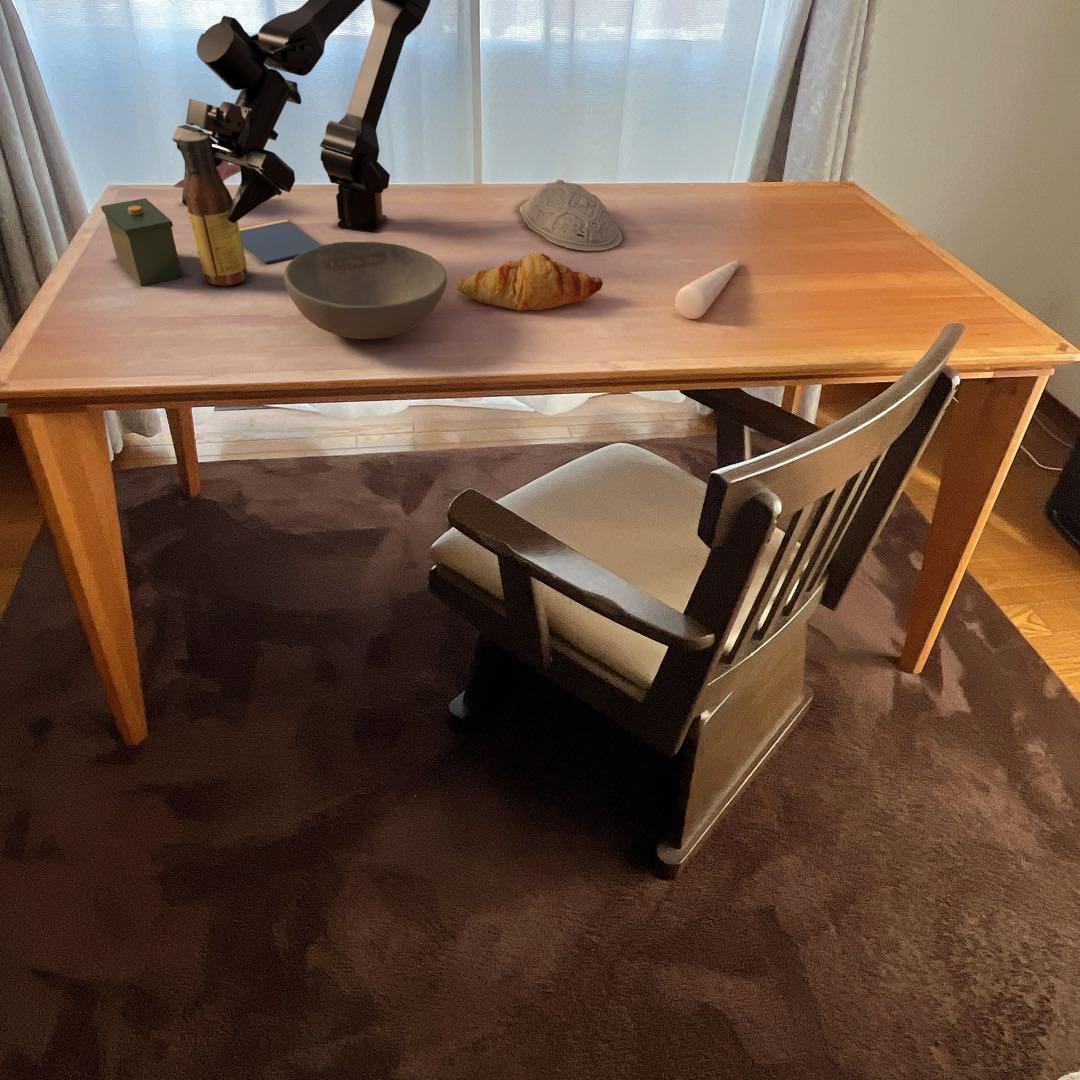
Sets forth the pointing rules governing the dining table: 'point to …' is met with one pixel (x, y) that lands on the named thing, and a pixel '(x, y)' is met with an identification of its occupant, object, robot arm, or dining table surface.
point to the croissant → (530, 284)
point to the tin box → (143, 240)
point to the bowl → (365, 288)
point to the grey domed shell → (581, 206)
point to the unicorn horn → (703, 291)
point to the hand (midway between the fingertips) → (207, 213)
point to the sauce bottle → (211, 214)
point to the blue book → (276, 241)
